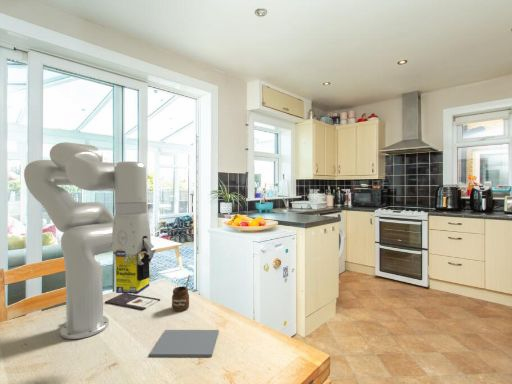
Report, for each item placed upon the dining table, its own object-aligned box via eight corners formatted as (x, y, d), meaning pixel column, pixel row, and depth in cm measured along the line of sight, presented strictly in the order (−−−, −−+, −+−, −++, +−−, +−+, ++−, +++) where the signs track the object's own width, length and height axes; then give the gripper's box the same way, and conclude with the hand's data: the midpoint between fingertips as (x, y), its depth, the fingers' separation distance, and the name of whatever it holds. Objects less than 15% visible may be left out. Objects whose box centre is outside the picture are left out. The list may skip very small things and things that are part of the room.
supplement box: (115, 293, 70) (114, 250, 70) (129, 285, 76) (128, 245, 76) (137, 294, 69) (136, 250, 69) (149, 286, 75) (148, 245, 75)
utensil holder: (175, 304, 102) (174, 272, 102) (192, 304, 102) (191, 272, 102) (169, 312, 96) (169, 277, 96) (187, 312, 96) (187, 277, 96)
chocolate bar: (124, 292, 112) (160, 299, 106) (124, 295, 112) (160, 301, 106) (104, 301, 104) (142, 308, 98) (104, 304, 104) (142, 311, 98)
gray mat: (149, 356, 71) (149, 354, 71) (165, 331, 83) (165, 329, 83) (211, 356, 71) (211, 354, 71) (218, 331, 83) (218, 329, 83)
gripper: (97, 209, 73) (99, 276, 74) (141, 211, 65) (143, 286, 65) (123, 207, 80) (125, 268, 80) (166, 209, 71) (167, 277, 72)
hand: (133, 276), depth 73 cm, fingers closed on supplement box, 7 cm apart
